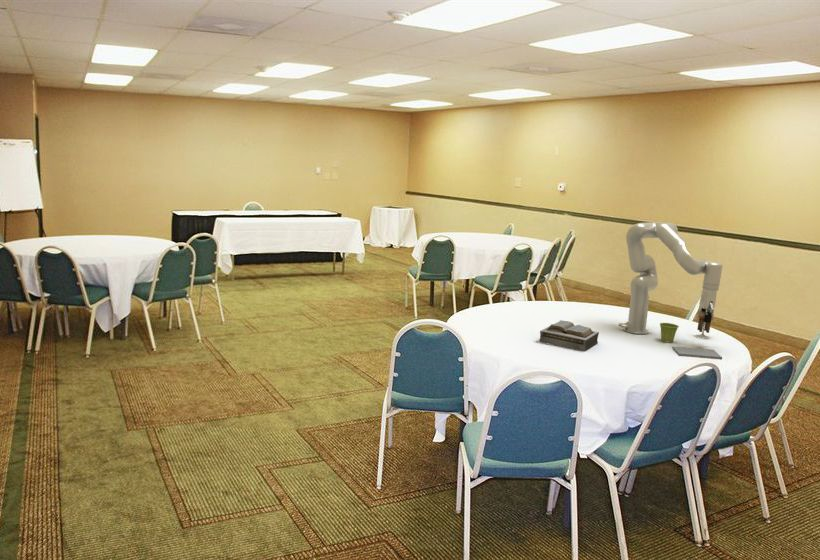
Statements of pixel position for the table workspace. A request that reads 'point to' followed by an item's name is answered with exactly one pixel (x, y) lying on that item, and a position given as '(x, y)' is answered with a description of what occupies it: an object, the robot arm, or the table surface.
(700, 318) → the stool
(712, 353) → the mat
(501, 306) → the table surface
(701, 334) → the wineglass
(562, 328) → the bible
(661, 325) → the plant pot
